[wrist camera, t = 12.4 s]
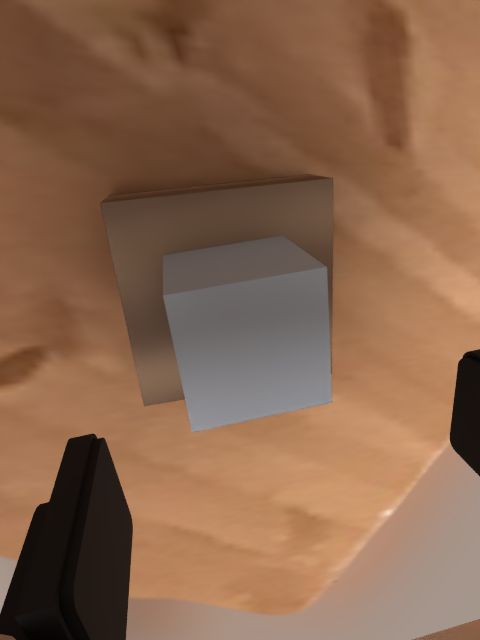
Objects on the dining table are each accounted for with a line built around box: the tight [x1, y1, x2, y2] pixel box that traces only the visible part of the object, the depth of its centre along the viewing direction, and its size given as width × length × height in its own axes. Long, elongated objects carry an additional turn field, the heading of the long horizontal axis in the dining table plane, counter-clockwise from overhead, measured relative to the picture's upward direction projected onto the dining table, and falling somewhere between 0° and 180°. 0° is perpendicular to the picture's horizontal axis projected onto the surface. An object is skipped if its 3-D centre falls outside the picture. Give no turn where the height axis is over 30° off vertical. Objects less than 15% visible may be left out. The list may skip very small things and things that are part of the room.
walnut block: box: [100, 174, 333, 406], centre depth 23 cm, size 11×11×4 cm
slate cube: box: [163, 236, 332, 432], centre depth 18 cm, size 6×6×6 cm
